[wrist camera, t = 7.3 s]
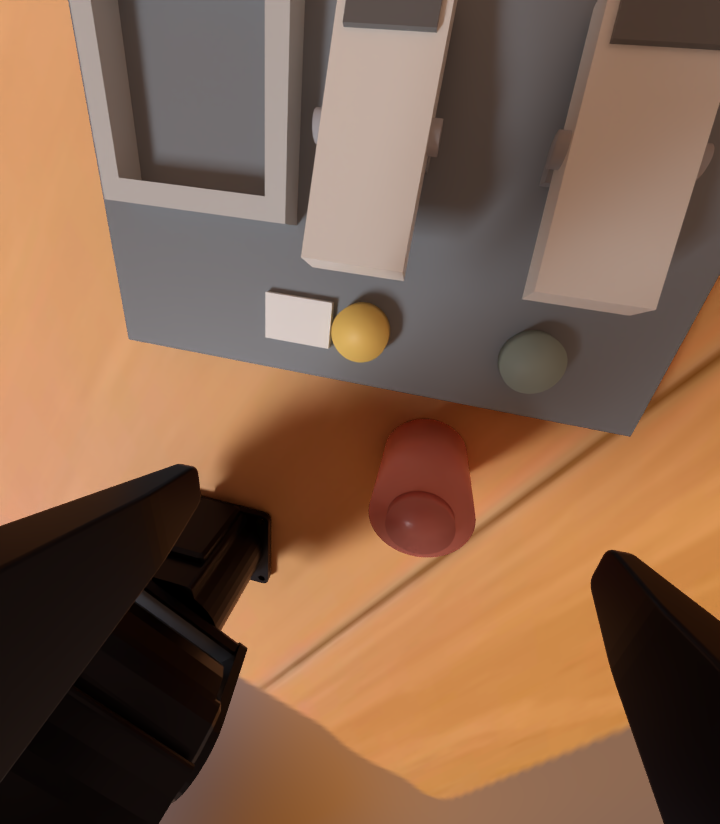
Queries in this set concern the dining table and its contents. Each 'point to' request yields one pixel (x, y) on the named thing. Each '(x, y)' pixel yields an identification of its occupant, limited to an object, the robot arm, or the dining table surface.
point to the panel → (434, 226)
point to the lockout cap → (423, 490)
